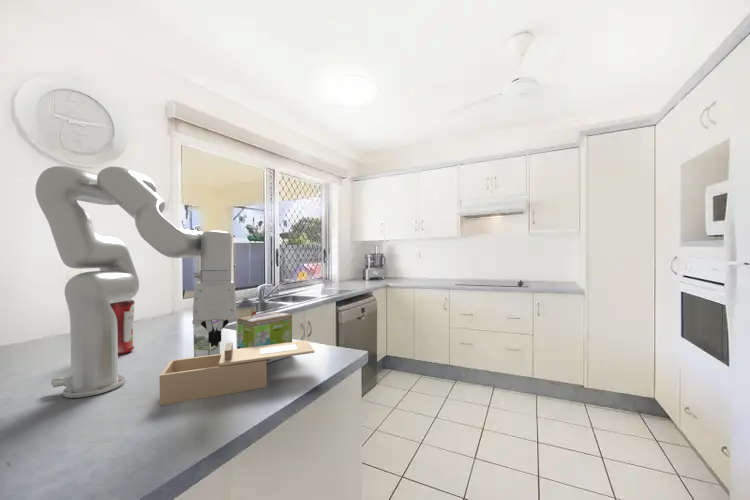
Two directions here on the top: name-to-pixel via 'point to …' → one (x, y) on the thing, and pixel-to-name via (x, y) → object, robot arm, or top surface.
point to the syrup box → (204, 341)
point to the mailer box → (208, 378)
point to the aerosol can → (244, 310)
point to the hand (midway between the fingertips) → (214, 344)
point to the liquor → (124, 325)
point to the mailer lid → (263, 352)
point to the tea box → (264, 330)
